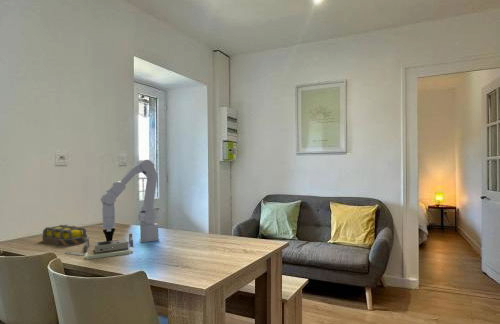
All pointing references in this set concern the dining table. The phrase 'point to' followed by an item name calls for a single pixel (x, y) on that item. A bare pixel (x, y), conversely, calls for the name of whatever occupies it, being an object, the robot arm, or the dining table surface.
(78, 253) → the stay bar
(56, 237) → the cage light
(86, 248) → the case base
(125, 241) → the handheld gaming device
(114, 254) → the bay
